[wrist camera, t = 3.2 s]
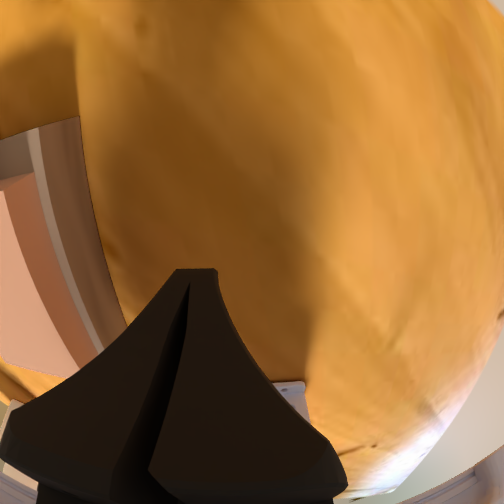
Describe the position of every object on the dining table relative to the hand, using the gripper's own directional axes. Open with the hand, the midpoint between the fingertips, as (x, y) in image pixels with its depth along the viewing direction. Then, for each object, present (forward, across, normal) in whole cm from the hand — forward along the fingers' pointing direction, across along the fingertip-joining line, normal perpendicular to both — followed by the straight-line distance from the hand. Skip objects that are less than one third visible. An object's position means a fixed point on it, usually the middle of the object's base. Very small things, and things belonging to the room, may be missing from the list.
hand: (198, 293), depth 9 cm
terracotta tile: (+1, +9, 0) cm, 9 cm away
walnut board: (+4, +9, 0) cm, 9 cm away
